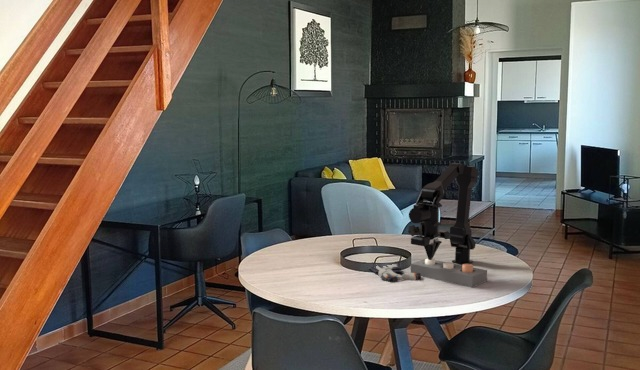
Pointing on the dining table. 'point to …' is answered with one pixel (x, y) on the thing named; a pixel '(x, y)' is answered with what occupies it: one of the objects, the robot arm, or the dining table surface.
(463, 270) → the plug terracotta
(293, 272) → the dining table surface
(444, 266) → the plug white mid
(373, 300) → the dining table surface
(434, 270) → the socket board
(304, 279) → the dining table surface
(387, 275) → the toy gun
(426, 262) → the plug white near
